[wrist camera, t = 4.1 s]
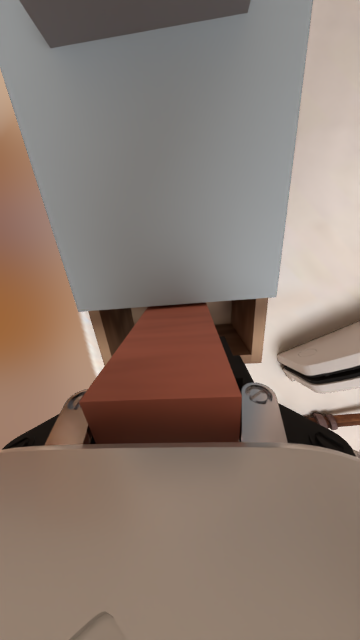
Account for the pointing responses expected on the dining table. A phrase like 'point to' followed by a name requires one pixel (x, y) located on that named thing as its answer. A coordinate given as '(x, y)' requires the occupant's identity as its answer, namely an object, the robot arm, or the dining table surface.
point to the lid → (160, 140)
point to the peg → (166, 383)
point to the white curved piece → (326, 361)
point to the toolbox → (228, 316)
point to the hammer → (336, 420)
